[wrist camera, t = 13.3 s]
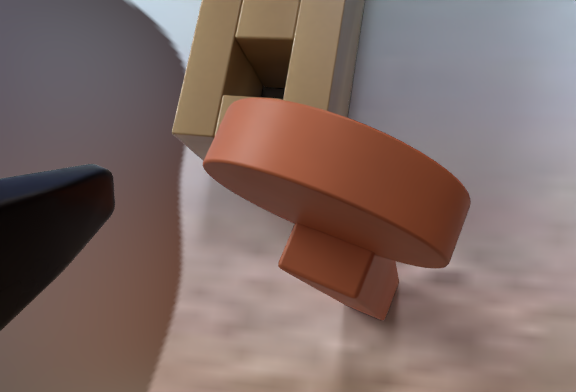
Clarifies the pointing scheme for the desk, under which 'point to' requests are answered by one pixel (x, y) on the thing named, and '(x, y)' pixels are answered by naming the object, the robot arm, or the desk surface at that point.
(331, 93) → the utensil rack
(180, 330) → the desk surface
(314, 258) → the orange piece
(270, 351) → the desk surface
